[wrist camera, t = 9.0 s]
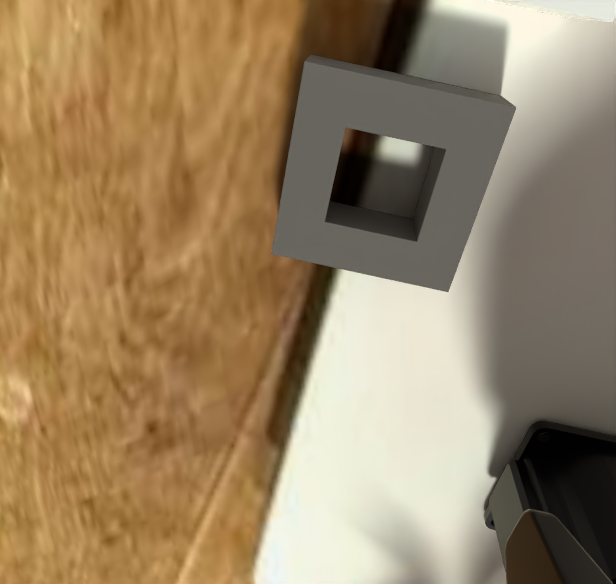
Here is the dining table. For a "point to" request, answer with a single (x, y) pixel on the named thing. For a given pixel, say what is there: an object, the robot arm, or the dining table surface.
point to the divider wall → (570, 8)
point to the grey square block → (402, 125)
